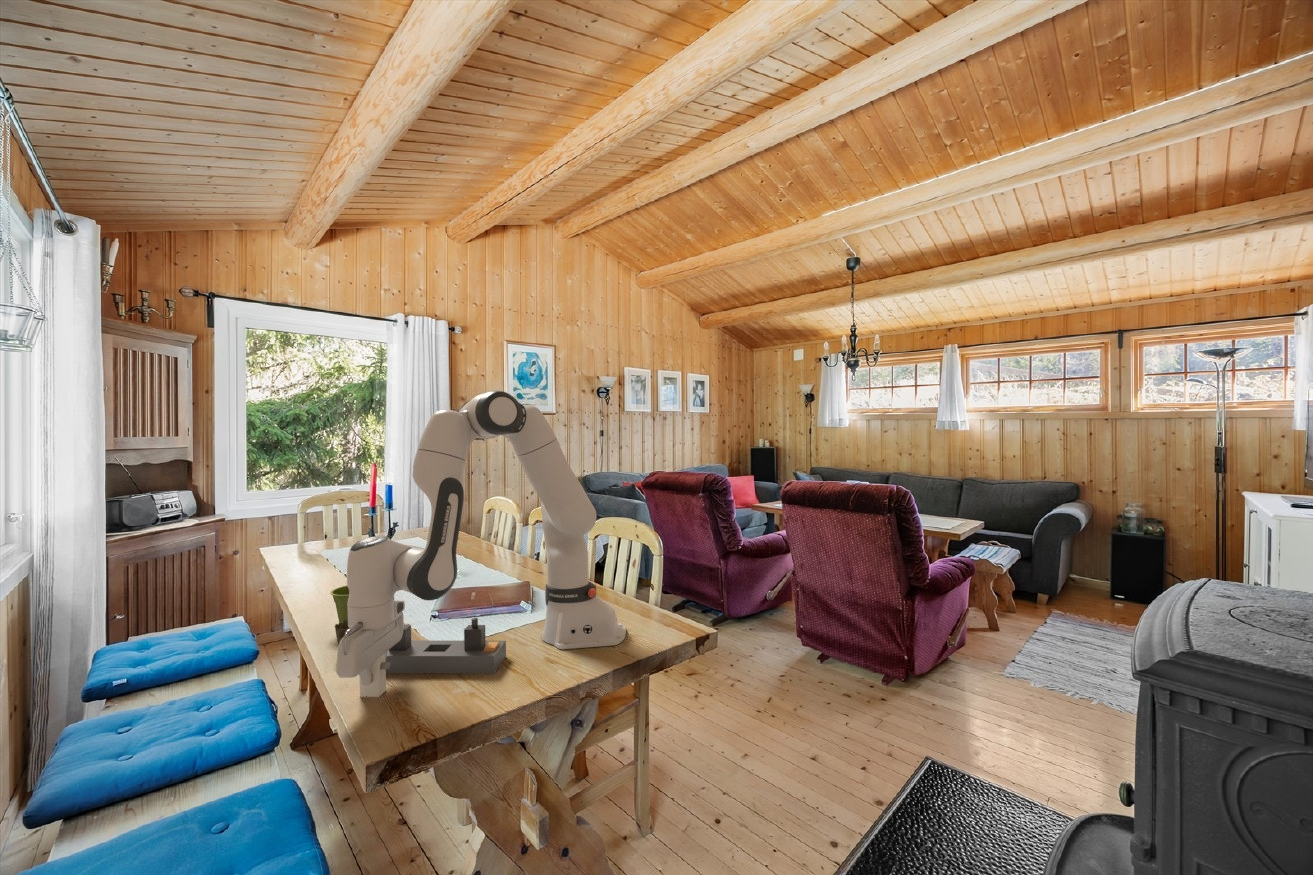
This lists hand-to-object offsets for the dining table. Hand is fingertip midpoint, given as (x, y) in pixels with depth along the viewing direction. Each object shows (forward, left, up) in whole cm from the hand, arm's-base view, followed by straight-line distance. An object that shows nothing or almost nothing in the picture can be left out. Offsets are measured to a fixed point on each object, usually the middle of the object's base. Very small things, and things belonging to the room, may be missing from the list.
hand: (373, 679), depth 118 cm
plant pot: (+25, -37, -3) cm, 45 cm away
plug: (0, 0, -3) cm, 3 cm away
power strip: (-8, -14, -3) cm, 16 cm away
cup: (+16, -20, -3) cm, 26 cm away
